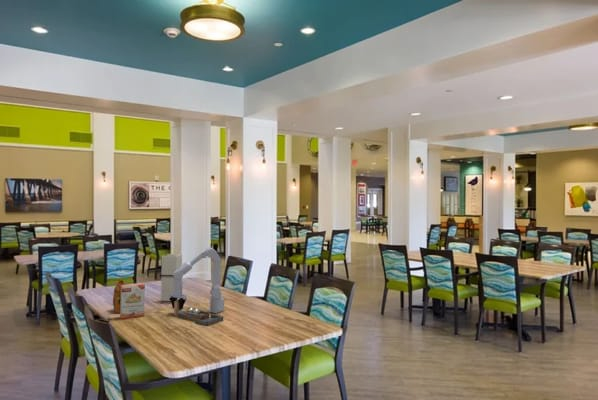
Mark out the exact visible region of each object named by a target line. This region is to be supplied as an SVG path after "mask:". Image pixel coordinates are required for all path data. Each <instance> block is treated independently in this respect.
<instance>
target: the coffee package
mask: <svg viewBox="0 0 598 400" xmlns="http://www.w3.org/2000/svg"><path fill="white" fill-rule="evenodd" d="M117 281H118V282H117V284H115V287H114V289H113V297H112V306H113V310H114V312H115V313H117V314H120V304H121V285H126V284H125V282H124V278H122V277H119V278H117Z"/></svg>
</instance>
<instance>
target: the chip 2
mask: <svg viewBox="0 0 598 400" xmlns="http://www.w3.org/2000/svg"><path fill="white" fill-rule="evenodd" d="M201 310H202V309H201V308H195V310H193V311H192V313H196V314H200V313H201Z"/></svg>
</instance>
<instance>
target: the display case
mask: <svg viewBox="0 0 598 400" xmlns="http://www.w3.org/2000/svg"><path fill="white" fill-rule="evenodd" d="M182 265H183V254H179V253H167V254H166V255H161V275H160V276H161V277H160V278H161V279H160V280H161V281H160V282H161V283H160V284H161V287H160V289H161V291H160V292H161V293H160V294H161V295H160V297H161V298H160V303H161V304H166V303H167V305H168V304H171V305H172V303H171V301H170V299H169V298H171V297H169V294H171V293H172V294H173V282H174V276H173V273H174V271H176V270H178V268H180V267H181V266H182ZM178 299H180V298H177V300H178Z"/></svg>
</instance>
